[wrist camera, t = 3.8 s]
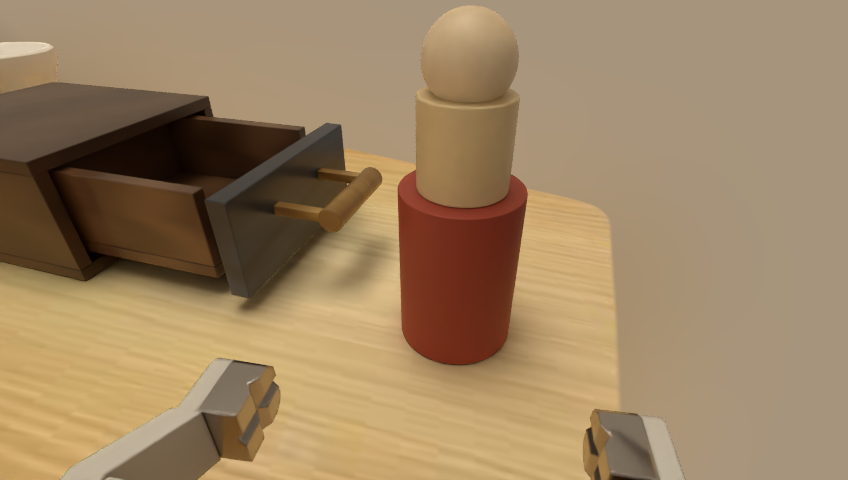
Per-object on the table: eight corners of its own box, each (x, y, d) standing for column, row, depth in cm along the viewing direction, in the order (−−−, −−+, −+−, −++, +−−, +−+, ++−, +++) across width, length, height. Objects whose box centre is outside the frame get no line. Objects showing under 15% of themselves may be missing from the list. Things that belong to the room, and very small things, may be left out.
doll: (473, 281, 27) (496, -2, 19) (529, 343, 22) (590, 9, 14) (386, 306, 25) (370, 1, 17) (429, 380, 20) (435, 16, 12)
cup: (62, 162, 42) (14, 58, 37) (-59, 169, 40) (-126, 61, 35) (107, 129, 50) (73, 40, 45) (8, 133, 49) (-38, 42, 44)
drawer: (400, 206, 33) (398, 130, 30) (320, 314, 23) (305, 216, 20) (191, 175, 37) (170, 106, 34) (47, 254, 27) (-1, 166, 24)
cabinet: (231, 187, 37) (208, 96, 33) (85, 281, 26) (25, 162, 22) (89, 166, 41) (53, 81, 37) (-91, 240, 30) (-170, 132, 26)
